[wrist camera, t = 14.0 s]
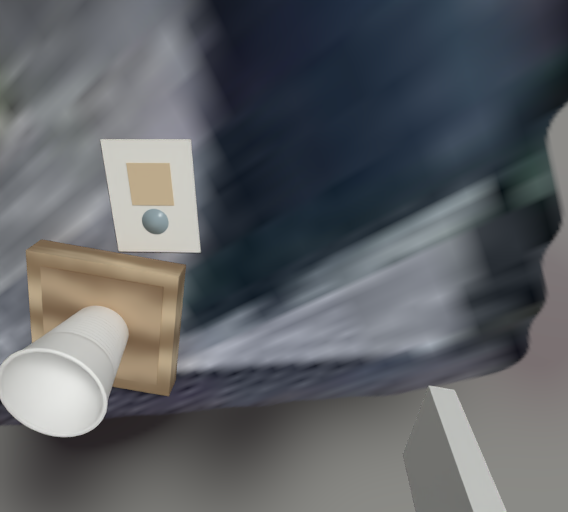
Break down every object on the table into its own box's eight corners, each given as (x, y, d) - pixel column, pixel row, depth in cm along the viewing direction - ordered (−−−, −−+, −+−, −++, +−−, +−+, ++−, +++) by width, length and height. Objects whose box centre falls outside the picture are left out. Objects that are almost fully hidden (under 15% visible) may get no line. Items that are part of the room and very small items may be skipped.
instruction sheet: (101, 139, 46) (99, 139, 45) (190, 139, 45) (190, 139, 45) (119, 250, 50) (118, 251, 50) (200, 251, 50) (200, 252, 50)
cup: (90, 375, 54) (39, 449, 44) (39, 306, 50) (-28, 369, 40) (163, 349, 52) (127, 420, 41) (116, 275, 48) (64, 333, 38)
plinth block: (41, 239, 50) (25, 250, 48) (185, 264, 51) (178, 277, 48) (47, 357, 57) (33, 374, 54) (175, 379, 57) (168, 397, 54)
